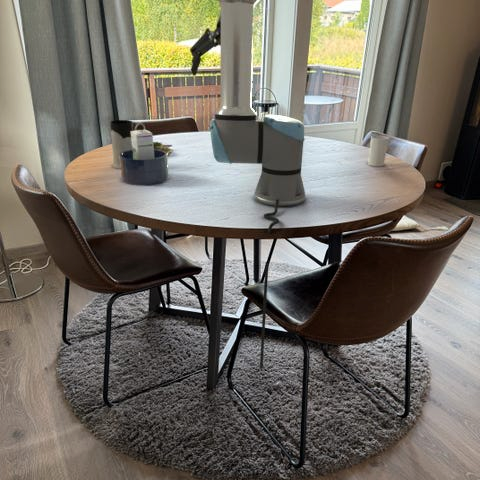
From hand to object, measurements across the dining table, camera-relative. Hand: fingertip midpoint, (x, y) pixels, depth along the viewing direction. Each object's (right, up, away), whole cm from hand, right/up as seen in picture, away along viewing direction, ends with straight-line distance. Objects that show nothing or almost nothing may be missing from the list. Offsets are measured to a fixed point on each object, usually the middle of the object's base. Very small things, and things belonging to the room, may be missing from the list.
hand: (211, 73), depth 160 cm
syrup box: (-23, -32, +6) cm, 40 cm away
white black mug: (-31, -23, +21) cm, 44 cm away
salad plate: (-27, -14, +36) cm, 47 cm away
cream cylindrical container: (+61, -20, +29) cm, 71 cm away
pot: (-23, -32, +6) cm, 40 cm away
